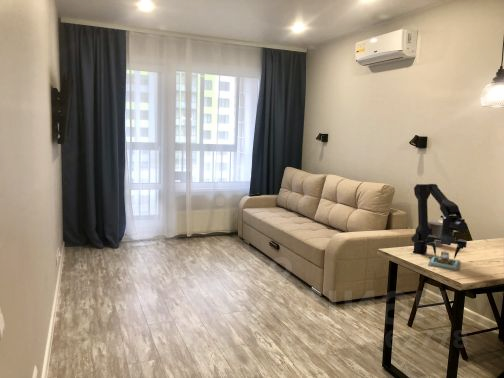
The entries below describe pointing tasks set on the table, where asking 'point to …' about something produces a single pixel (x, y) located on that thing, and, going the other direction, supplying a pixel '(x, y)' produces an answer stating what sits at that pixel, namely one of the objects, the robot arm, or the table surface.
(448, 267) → the carrier plate
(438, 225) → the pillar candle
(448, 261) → the planet gear
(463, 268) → the table surface
